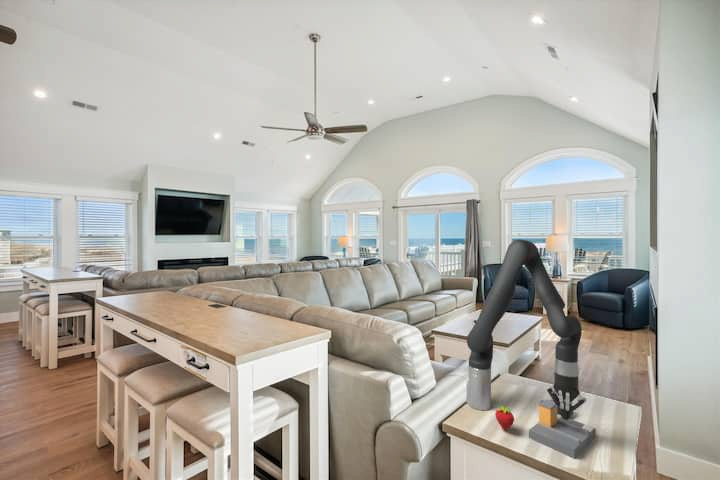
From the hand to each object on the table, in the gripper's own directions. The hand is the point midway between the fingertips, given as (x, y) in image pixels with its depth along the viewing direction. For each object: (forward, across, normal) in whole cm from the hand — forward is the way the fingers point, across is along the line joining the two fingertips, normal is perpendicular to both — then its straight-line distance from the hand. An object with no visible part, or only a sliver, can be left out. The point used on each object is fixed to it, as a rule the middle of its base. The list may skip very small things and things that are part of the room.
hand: (565, 418), depth 128 cm
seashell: (+8, -10, +16) cm, 20 cm away
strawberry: (+7, -17, -12) cm, 22 cm away
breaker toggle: (+4, -6, 0) cm, 7 cm away
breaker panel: (+7, -1, 0) cm, 7 cm away
